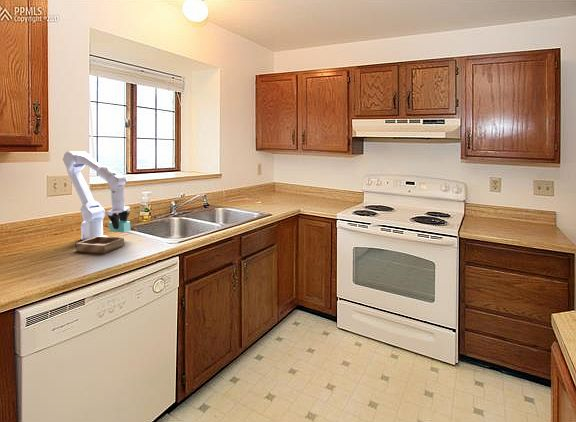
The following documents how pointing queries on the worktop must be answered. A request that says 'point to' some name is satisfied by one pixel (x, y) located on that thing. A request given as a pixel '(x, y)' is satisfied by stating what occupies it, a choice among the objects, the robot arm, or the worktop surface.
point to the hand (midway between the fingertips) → (119, 227)
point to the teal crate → (120, 227)
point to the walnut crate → (100, 244)
